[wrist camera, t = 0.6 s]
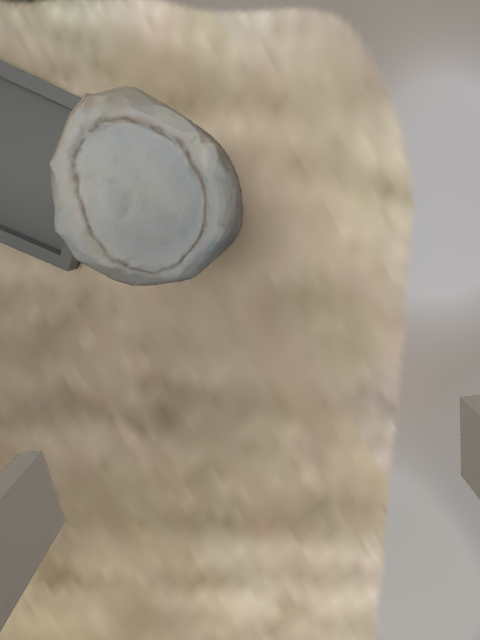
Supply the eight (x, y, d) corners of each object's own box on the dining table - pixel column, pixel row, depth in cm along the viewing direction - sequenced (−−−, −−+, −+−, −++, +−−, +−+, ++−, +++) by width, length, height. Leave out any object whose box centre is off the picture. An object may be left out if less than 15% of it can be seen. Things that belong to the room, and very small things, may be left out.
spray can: (223, 131, 33) (178, 29, 14) (260, 228, 35) (265, 259, 16) (129, 173, 34) (-35, 132, 15) (170, 265, 36) (72, 335, 17)
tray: (-65, 206, 35) (-83, 206, 33) (-30, 48, 32) (-49, 37, 30) (77, 267, 36) (67, 271, 34) (126, 120, 33) (118, 115, 31)
